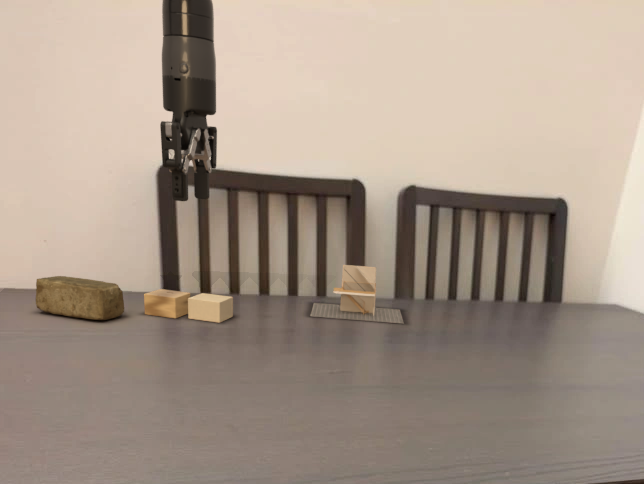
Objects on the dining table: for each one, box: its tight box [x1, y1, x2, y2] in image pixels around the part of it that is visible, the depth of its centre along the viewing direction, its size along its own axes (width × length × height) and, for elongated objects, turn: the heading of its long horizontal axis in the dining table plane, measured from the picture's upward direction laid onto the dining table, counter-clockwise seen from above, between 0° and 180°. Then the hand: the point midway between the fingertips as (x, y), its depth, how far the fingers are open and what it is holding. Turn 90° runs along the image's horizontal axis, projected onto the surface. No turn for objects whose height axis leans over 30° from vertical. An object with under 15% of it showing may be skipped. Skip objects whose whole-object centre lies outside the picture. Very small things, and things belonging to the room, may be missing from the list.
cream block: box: [187, 292, 234, 324], centre depth 109 cm, size 5×5×3 cm
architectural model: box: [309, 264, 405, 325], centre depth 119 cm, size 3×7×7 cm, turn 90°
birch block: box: [143, 288, 191, 319], centre depth 109 cm, size 5×5×3 cm
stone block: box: [35, 275, 125, 321], centre depth 103 cm, size 6×12×5 cm, turn 74°
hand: (191, 199), depth 111 cm, fingers open, 7 cm apart
